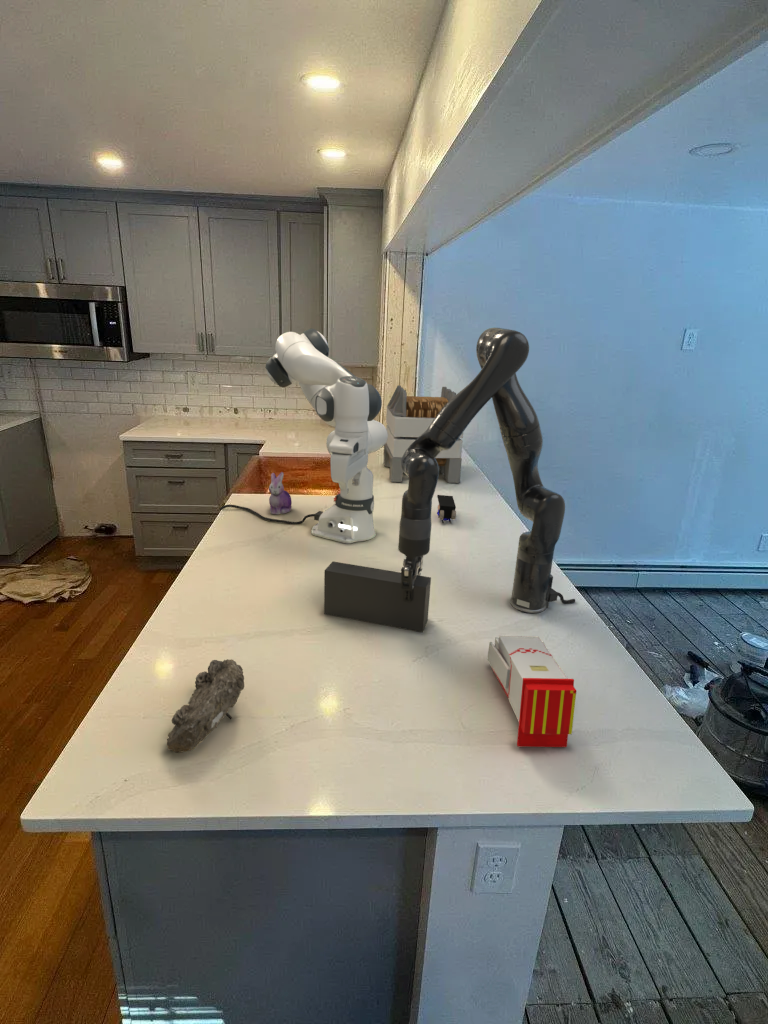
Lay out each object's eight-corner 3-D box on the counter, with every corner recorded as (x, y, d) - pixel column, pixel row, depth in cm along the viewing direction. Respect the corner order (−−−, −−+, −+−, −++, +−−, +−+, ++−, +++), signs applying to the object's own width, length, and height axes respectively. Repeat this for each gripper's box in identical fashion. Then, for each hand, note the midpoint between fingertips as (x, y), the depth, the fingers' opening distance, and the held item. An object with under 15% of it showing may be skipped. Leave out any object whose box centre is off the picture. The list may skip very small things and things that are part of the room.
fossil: (192, 660, 117) (244, 628, 112) (224, 691, 120) (276, 661, 115) (142, 746, 98) (202, 712, 93) (182, 779, 101) (242, 748, 96)
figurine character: (456, 529, 210) (451, 511, 223) (458, 510, 207) (453, 493, 220) (438, 528, 210) (434, 510, 223) (440, 510, 206) (436, 493, 220)
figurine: (272, 516, 210) (271, 477, 205) (264, 508, 219) (263, 470, 213) (296, 513, 214) (296, 475, 209) (287, 505, 223) (287, 468, 218)
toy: (536, 619, 129) (586, 686, 99) (531, 673, 131) (578, 754, 102) (483, 618, 128) (517, 685, 99) (479, 672, 131) (511, 753, 102)
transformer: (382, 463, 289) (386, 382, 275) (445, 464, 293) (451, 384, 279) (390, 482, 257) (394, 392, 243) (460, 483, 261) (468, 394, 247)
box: (324, 613, 146) (324, 570, 142) (332, 603, 151) (332, 561, 147) (422, 632, 140) (426, 587, 135) (427, 621, 145) (431, 577, 141)
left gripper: (353, 431, 160) (351, 478, 165) (326, 447, 141) (325, 499, 146) (374, 433, 158) (372, 481, 163) (350, 449, 140) (348, 502, 144)
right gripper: (423, 546, 127) (419, 612, 133) (436, 524, 140) (431, 585, 146) (391, 541, 129) (388, 606, 135) (406, 520, 142) (403, 580, 148)
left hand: (350, 490), depth 154 cm, fingers open, 8 cm apart
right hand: (410, 595), depth 141 cm, fingers closed on box, 5 cm apart
